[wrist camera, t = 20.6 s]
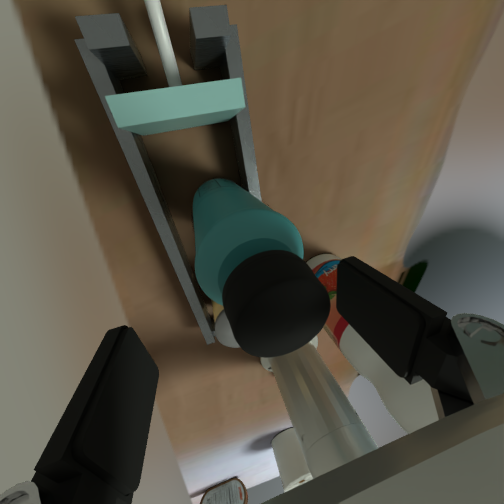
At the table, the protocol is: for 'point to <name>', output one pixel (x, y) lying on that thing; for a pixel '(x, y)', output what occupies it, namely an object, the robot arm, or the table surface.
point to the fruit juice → (374, 360)
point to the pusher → (174, 94)
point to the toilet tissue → (290, 460)
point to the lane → (108, 83)
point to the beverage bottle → (256, 270)
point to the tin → (226, 493)
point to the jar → (223, 326)
